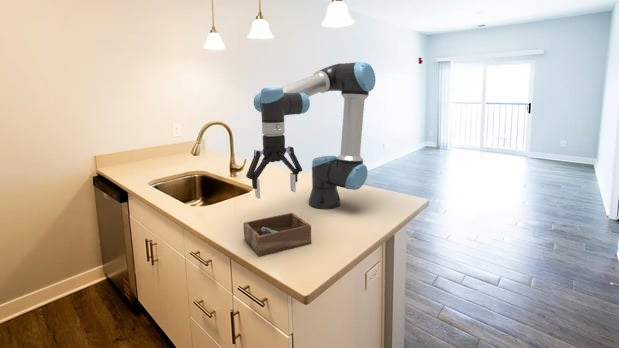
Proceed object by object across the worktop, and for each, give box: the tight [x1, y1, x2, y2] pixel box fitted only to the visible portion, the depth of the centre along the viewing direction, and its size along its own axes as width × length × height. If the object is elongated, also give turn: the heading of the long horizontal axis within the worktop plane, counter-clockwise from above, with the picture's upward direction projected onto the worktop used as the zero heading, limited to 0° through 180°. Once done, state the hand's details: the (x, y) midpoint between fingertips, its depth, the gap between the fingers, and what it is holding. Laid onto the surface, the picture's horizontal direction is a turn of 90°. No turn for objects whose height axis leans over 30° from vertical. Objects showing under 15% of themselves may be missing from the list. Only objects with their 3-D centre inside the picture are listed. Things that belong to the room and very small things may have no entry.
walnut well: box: [243, 212, 312, 258], centre depth 127 cm, size 15×20×7 cm
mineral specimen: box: [261, 227, 278, 235], centre depth 127 cm, size 6×12×4 cm, turn 44°
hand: (275, 194), depth 123 cm, fingers open, 13 cm apart
